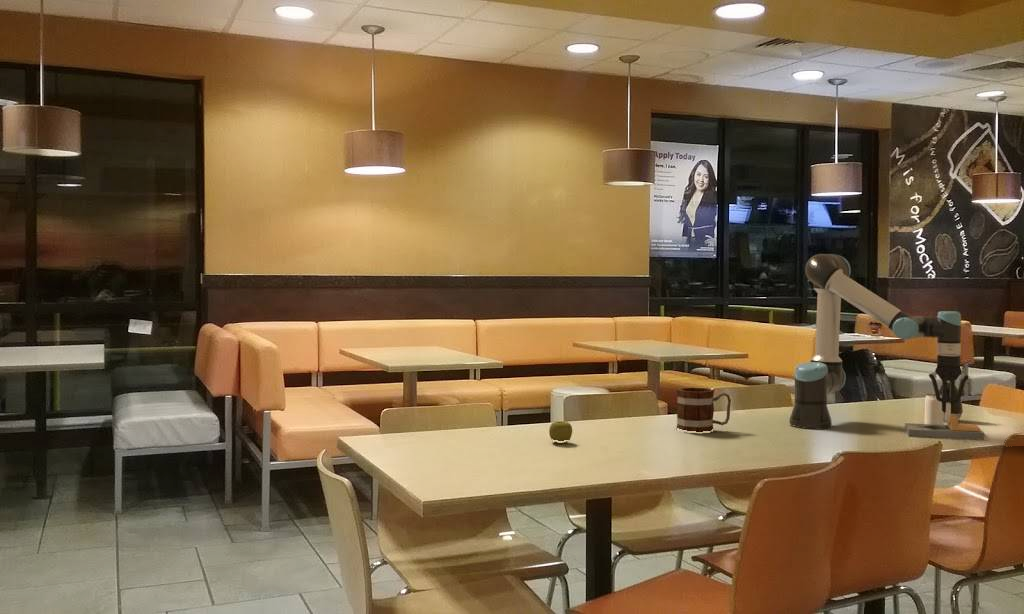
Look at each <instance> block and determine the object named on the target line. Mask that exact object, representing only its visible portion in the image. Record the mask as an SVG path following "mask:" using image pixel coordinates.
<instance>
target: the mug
mask: <svg viewBox="0 0 1024 614" xmlns="http://www.w3.org/2000/svg"><path fill="white" fill-rule="evenodd" d="M714 394H715V390H714V389H710V388H707V387H706V388H705V387H680V388H678V389H676V395H677V396H676V397H677V401H676V402H677V405H676V419H677V420H676V429H677V428H679V429H682V430H687V431H696V432H703V431H711V430H712V429H713V430H714V424H716V425H720V426H724V425H727V424H728V422H729V420H730V417H731V415H730V414H731V403H732V402H731V401H732V400H731V398H730V395H729V394H728V393H726V392H722V393H719V394H718V395H717V396H716V397H714ZM723 396H725V397H726V399H727V404H726V417H725V420H724V421H719V420H715V419H714V413H715V412H714V411H715V409H714V407H715V406H714V402H717V401H718V400H719V399H721V397H723Z"/></svg>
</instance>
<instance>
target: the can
mask: <svg viewBox="0 0 1024 614" xmlns="http://www.w3.org/2000/svg"><path fill="white" fill-rule="evenodd" d="M940 398H942V395H940ZM943 420H944V412H943V411H942V402H940V401H938V400H937V399H936V395H935V393H926V396H925V398H924V420H923V421H924V423H923V424H933V425H944V421H943Z"/></svg>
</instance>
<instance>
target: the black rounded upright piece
mask: <svg viewBox="0 0 1024 614" xmlns="http://www.w3.org/2000/svg"><path fill="white" fill-rule="evenodd" d="M938 390H939V394H940V395H942V384H941V385H940V387H939V388H938ZM957 391H958V387H957V386H956V385H955V395H954V398H956V395H957ZM946 402H948V403H950V381H947V394H946ZM963 410H964V409H963V401H962V398H961V399H960V401H959V402H955V403H954V412H951V414H955V415H956V416H957V417H958V421H959V420H960V419H961V417H962V414H963V413H964V411H963ZM943 422H946V421H945V412H944V420H943Z"/></svg>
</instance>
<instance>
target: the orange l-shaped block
mask: <svg viewBox="0 0 1024 614" xmlns="http://www.w3.org/2000/svg"><path fill="white" fill-rule="evenodd" d="M947 425H948V427H949V428H950V429H951V430H959V431H979V432H980V430H981V428H980V427H979V426H978V425H977V424H972V423H970V424H969V423H959V420H958V417H957V416H956V415H955V414H951V421H950V422H947Z"/></svg>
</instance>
